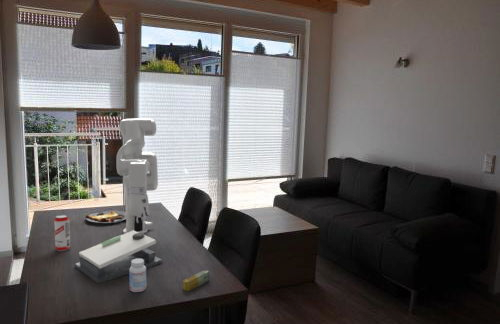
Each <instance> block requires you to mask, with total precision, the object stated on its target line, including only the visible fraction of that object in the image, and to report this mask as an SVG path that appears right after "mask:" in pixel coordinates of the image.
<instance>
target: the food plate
mask: <svg viewBox="0 0 500 324" xmlns="http://www.w3.org/2000/svg"><path fill="white" fill-rule="evenodd" d="M84 220H86V221H87V222H90V223H95V224H117V223H120V222H123V221H124V220H125V221H126V211H124V210H122V211H121V210H106V211H105V210H104V211H103V210H102V211H97V212H93V213H91V214H87V215H86V216H85V219H84Z"/></svg>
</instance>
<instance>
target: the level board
mask: <svg viewBox="0 0 500 324" xmlns="http://www.w3.org/2000/svg"><path fill="white" fill-rule="evenodd" d="M155 244H157V240H156V239H154V238H153V237H150V236H148V235H146V234H145V233H139V232H136V231H134V230H133V231H130V232H128V233H125V234H124V233H123V234H120V235H117V236H114V237H112V238H110V239H107V240H105V241H102V242H101V243H97V244H96V245H94V246H90V247H89V248H86V249H84V250H81V251H79V252H78V255H79V256H80V257H82V258H84V259H86V260H87V261H89V262H90V263H92V264H93V265H95V266H96V267H98V268H103V267H105V266H107V265H109V264H111V263H114V262H116V261H118V260H120V259H122V258H125V257H127V256H129V255H131V254H133V253H136V252H138V251H140V250H142V249H145V248H147V249H148V248H149V247H151V246H153V245H155Z"/></svg>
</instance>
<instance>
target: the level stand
mask: <svg viewBox="0 0 500 324" xmlns="http://www.w3.org/2000/svg"><path fill="white" fill-rule="evenodd" d="M155 253H156V252H155V251H153V250H151V249H149V248H148V247H147V248H145V249H142V250H140V251H138V252H136V253H133V254H131V255H129V256H127V257H125V258H122V259H120V260H118V261H116V262H114V263H111V264H109V265H107V266H105V267H103V268H98V267H96V266H95V265H93V264H92V263H90V262H89V261H87V260H86V259H84V258H82V257H81V256H80V257H79V262H76V263H74V268H76V269H77V270H78V271H80V272H82V273H83V274H84V275H86V276H87V277H89V278H90V279H91V280H93V281H94V282H96V283H97V284H101V283H103V282H107V281H110V280H113V279H116V278H119V277H123V276H125V275H129V269H130V267H131V266H132V265H131V261H132V260H133V259H137V258H140V259H143V260H144V266H145V267H146V269H148V268H151V267H153V266H156V265H160V264H162V263H163V259H161V258H160V257H157V256H156V254H155ZM150 266H151V267H150Z"/></svg>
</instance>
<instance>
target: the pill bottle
mask: <svg viewBox="0 0 500 324" xmlns="http://www.w3.org/2000/svg"><path fill="white" fill-rule="evenodd" d="M131 265H132V266H131V267H130V269H129V274H128V275H129V290H130V291H131V292H133V293H140V292H144V291H145V290H146V289H147V268H146V267H145V266H144V260H143V259H140V258H137V259H133V260H132V261H131Z"/></svg>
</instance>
